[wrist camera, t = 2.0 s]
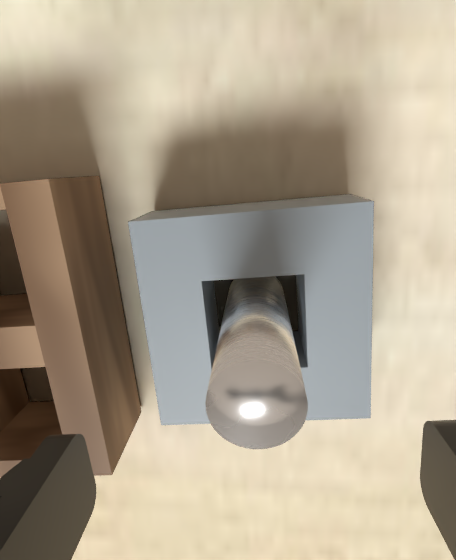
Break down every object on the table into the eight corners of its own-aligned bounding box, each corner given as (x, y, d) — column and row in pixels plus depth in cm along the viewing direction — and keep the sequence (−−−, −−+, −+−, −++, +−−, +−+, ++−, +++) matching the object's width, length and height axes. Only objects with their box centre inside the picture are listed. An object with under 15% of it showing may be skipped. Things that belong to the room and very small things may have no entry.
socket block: (349, 194, 19) (373, 201, 15) (350, 373, 22) (370, 418, 18) (152, 211, 20) (127, 221, 16) (177, 381, 23) (161, 425, 19)
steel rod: (282, 267, 20) (306, 358, 11) (285, 319, 21) (309, 447, 12) (225, 271, 21) (200, 363, 11) (230, 323, 21) (211, 450, 12)
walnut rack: (99, 175, 20) (48, 178, 15) (141, 411, 23) (111, 475, 19) (-65, 191, 20) (-163, 199, 16) (2, 417, 24) (-60, 478, 19)
